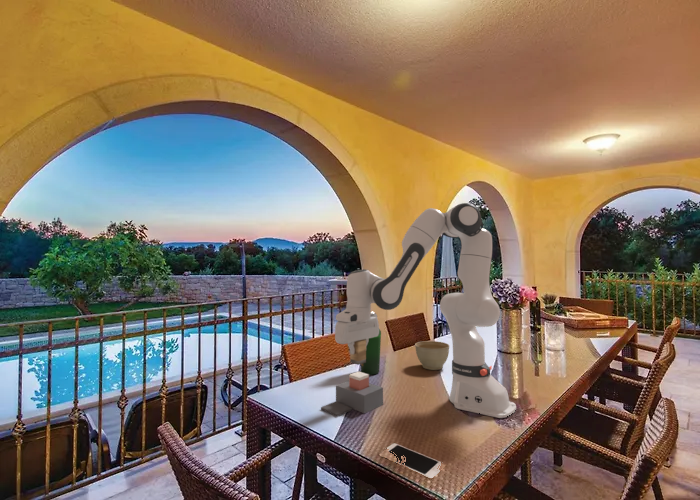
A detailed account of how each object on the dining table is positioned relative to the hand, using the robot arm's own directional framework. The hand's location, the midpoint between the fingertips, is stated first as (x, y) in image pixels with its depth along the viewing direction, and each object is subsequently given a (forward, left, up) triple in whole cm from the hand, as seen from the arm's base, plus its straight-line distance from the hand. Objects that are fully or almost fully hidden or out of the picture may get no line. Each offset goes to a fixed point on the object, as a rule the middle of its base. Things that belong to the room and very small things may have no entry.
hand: (358, 352), depth 127 cm
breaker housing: (0, 0, -18) cm, 18 cm away
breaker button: (0, 0, -13) cm, 13 cm away
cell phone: (-34, +17, -19) cm, 42 cm away
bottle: (+20, -29, -19) cm, 40 cm away
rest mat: (+2, +9, -18) cm, 21 cm away
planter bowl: (+3, -55, -19) cm, 58 cm away
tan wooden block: (0, 0, -4) cm, 4 cm away
